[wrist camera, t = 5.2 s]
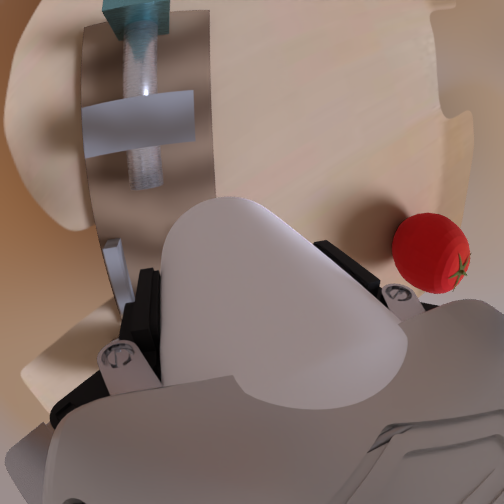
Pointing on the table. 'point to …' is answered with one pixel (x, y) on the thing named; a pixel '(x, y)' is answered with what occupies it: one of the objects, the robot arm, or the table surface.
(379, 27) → the table surface
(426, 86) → the table surface
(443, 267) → the tomato
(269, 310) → the can
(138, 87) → the shaft
